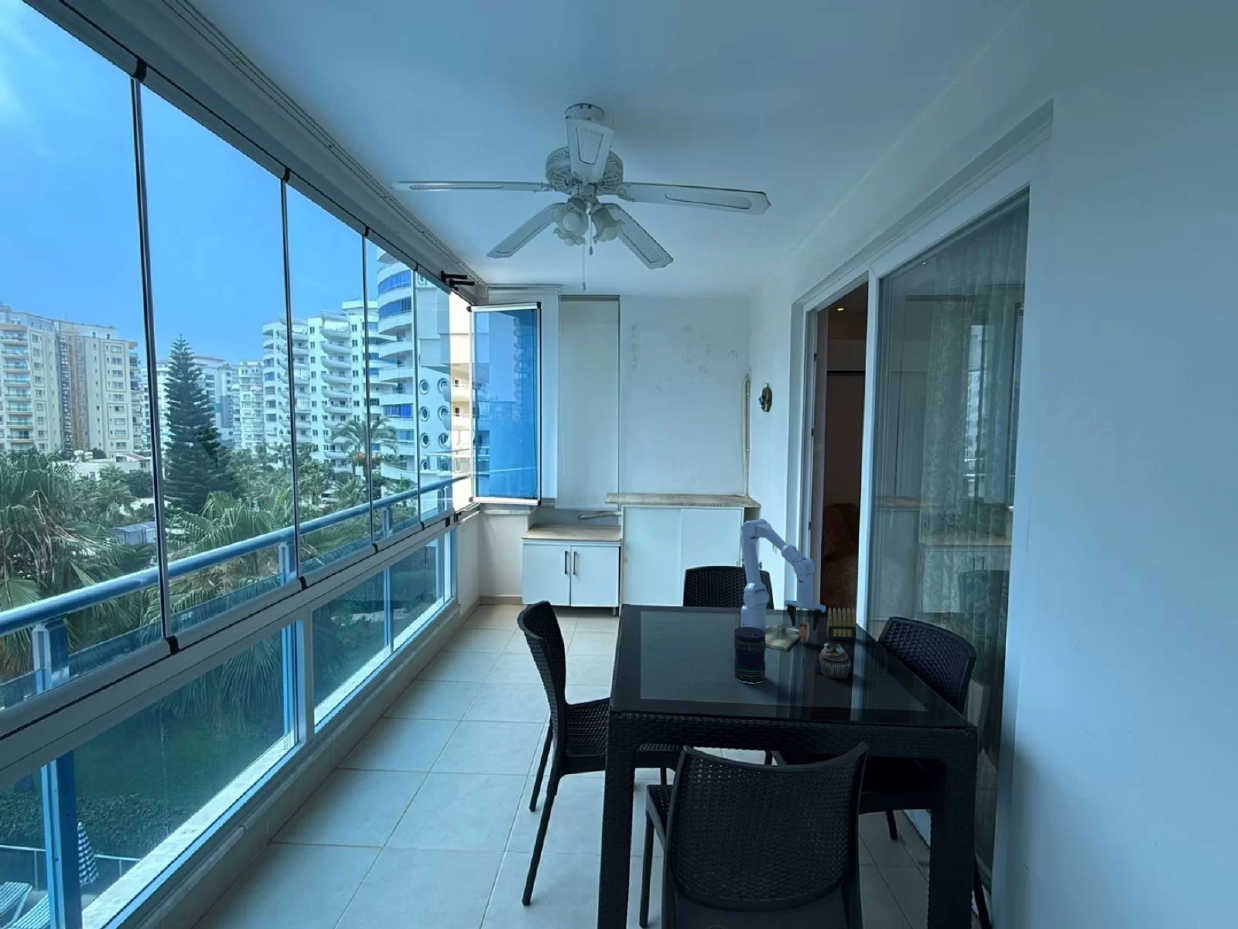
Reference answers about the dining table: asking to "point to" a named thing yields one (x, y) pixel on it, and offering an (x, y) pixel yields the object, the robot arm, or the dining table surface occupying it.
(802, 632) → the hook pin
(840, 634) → the ammunition clip
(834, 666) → the cupcake
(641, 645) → the dining table surface
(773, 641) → the eye bracket
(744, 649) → the storage jar
